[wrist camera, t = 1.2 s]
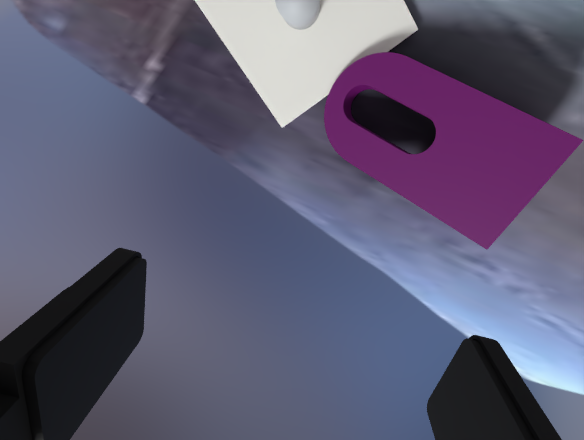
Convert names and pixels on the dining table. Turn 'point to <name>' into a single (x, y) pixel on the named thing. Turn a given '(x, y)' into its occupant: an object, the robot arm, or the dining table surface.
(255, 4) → the flange
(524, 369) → the dining table surface
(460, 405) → the robot arm
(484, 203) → the mounting bracket
